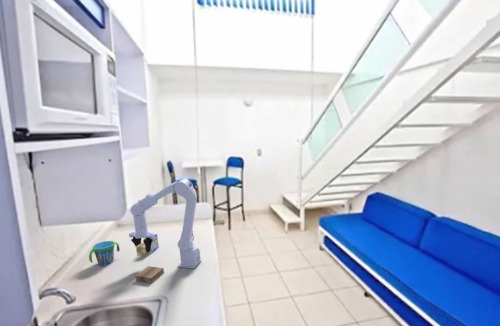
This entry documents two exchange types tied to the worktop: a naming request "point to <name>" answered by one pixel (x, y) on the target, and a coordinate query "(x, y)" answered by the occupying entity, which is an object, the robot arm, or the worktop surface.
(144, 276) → the walnut block
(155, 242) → the medicine box
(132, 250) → the worktop surface
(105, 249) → the snack cup
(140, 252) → the maple cube
